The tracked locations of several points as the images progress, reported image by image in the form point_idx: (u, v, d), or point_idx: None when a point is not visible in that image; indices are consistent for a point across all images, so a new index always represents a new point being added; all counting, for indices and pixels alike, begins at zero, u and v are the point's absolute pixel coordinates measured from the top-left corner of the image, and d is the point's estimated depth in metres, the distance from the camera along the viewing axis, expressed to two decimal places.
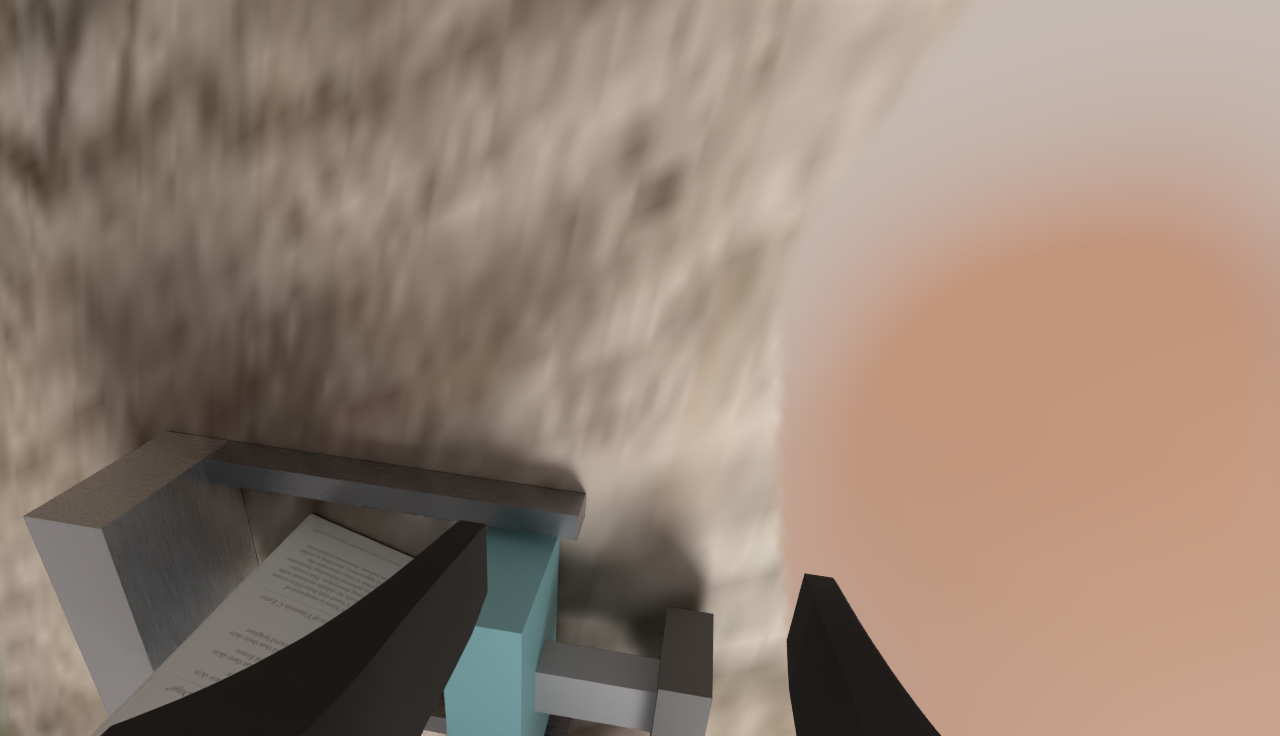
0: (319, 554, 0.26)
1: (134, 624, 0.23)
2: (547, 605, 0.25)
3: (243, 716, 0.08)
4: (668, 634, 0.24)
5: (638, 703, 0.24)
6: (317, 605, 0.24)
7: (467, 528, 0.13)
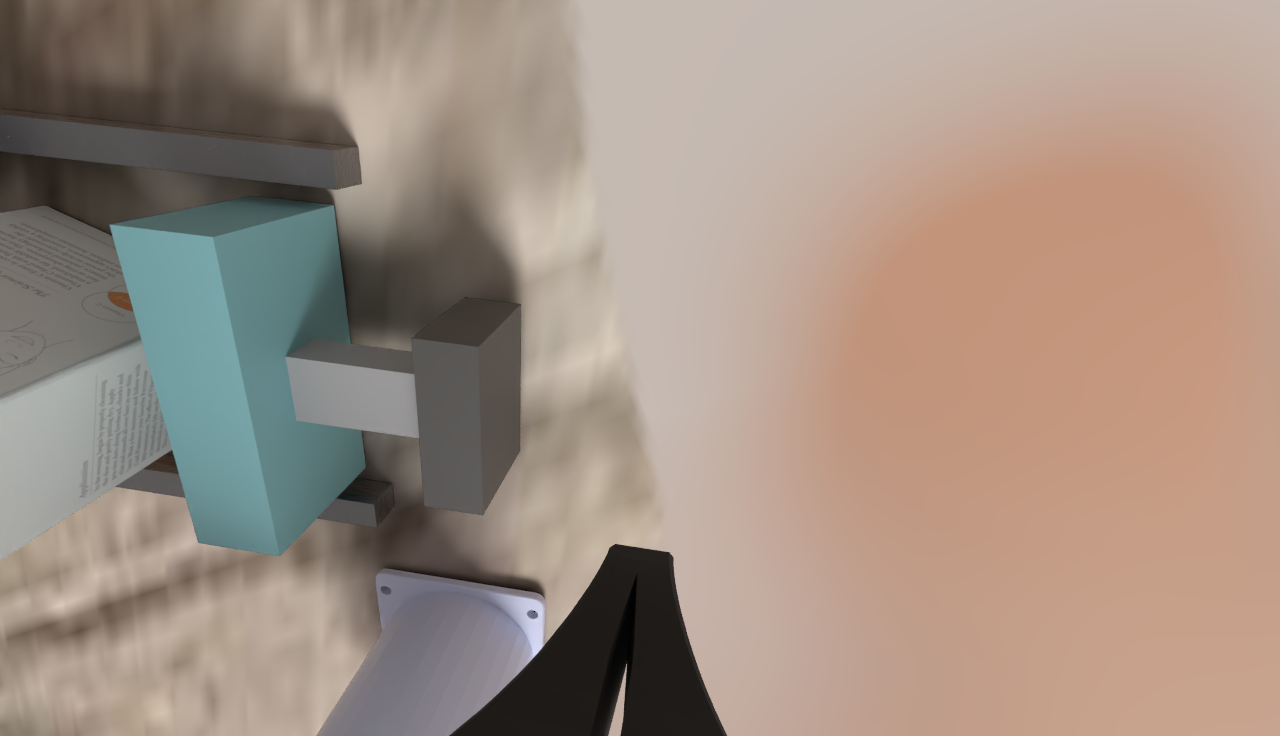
0: (34, 232, 0.21)
1: None
2: (310, 286, 0.20)
3: None
4: (452, 310, 0.20)
5: (414, 396, 0.19)
6: (5, 264, 0.19)
7: (627, 554, 0.13)
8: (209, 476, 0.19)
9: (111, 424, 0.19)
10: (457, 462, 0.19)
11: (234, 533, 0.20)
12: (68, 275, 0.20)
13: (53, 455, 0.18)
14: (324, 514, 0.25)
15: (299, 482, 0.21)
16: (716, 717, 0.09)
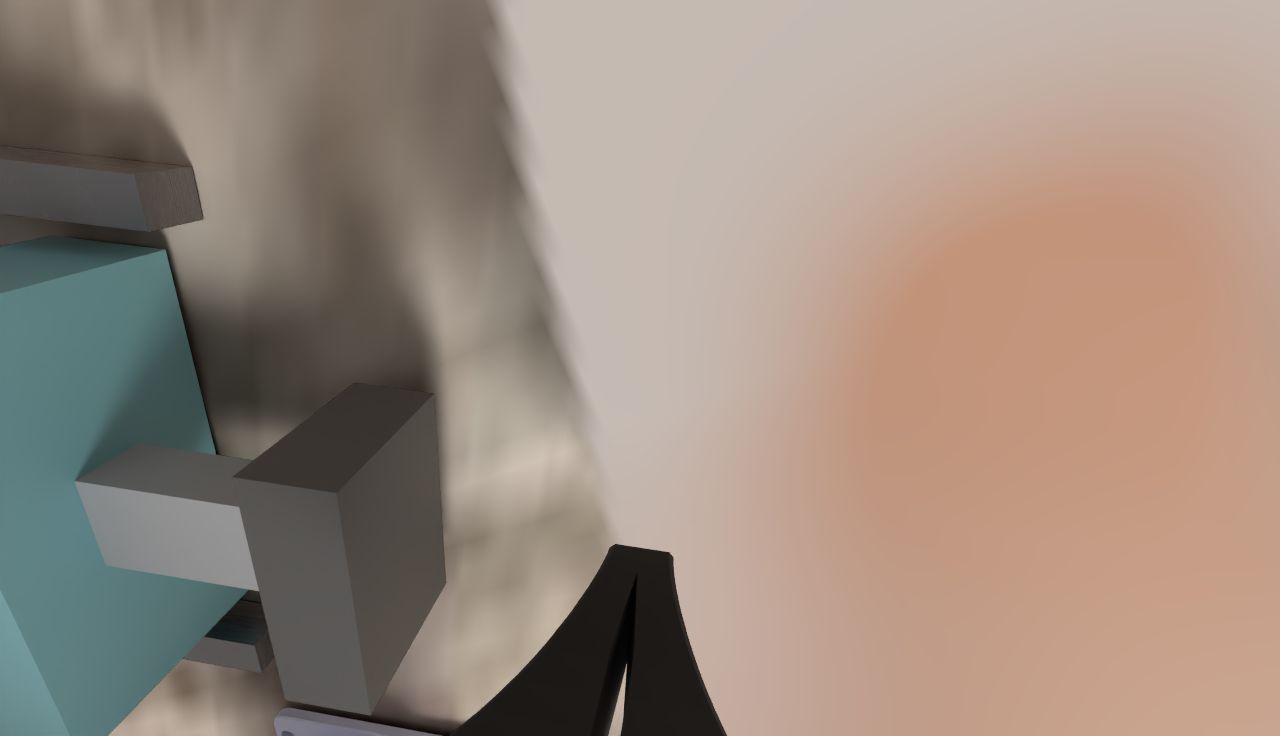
0: None
1: None
2: (122, 370, 0.14)
3: None
4: (324, 411, 0.13)
5: None
6: None
7: (627, 554, 0.13)
8: None
9: None
10: (325, 647, 0.12)
11: (14, 731, 0.14)
12: None
13: None
14: (191, 655, 0.19)
15: (118, 648, 0.15)
16: (716, 717, 0.09)
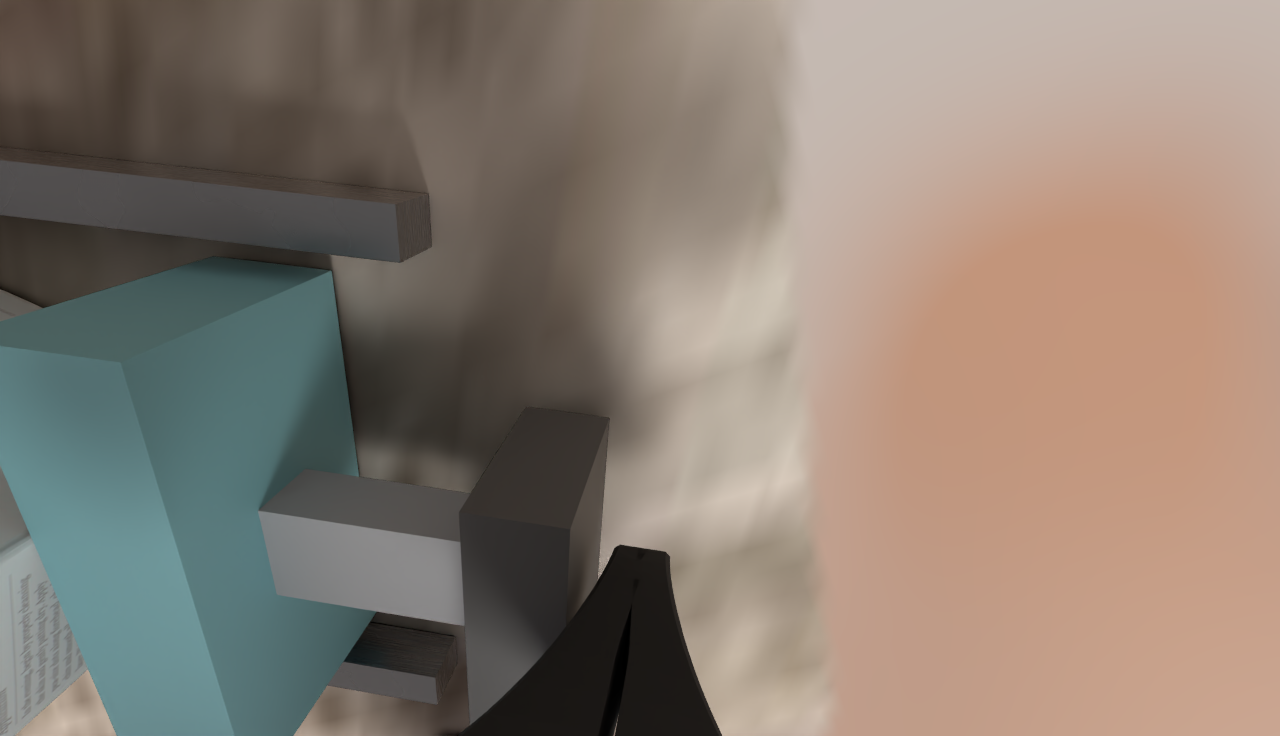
0: None
1: None
2: (296, 396, 0.13)
3: None
4: (513, 438, 0.13)
5: (455, 570, 0.13)
6: None
7: (631, 555, 0.13)
8: (143, 694, 0.13)
9: (43, 627, 0.12)
10: None
11: None
12: None
13: None
14: (365, 686, 0.18)
15: (282, 678, 0.14)
16: (711, 716, 0.09)
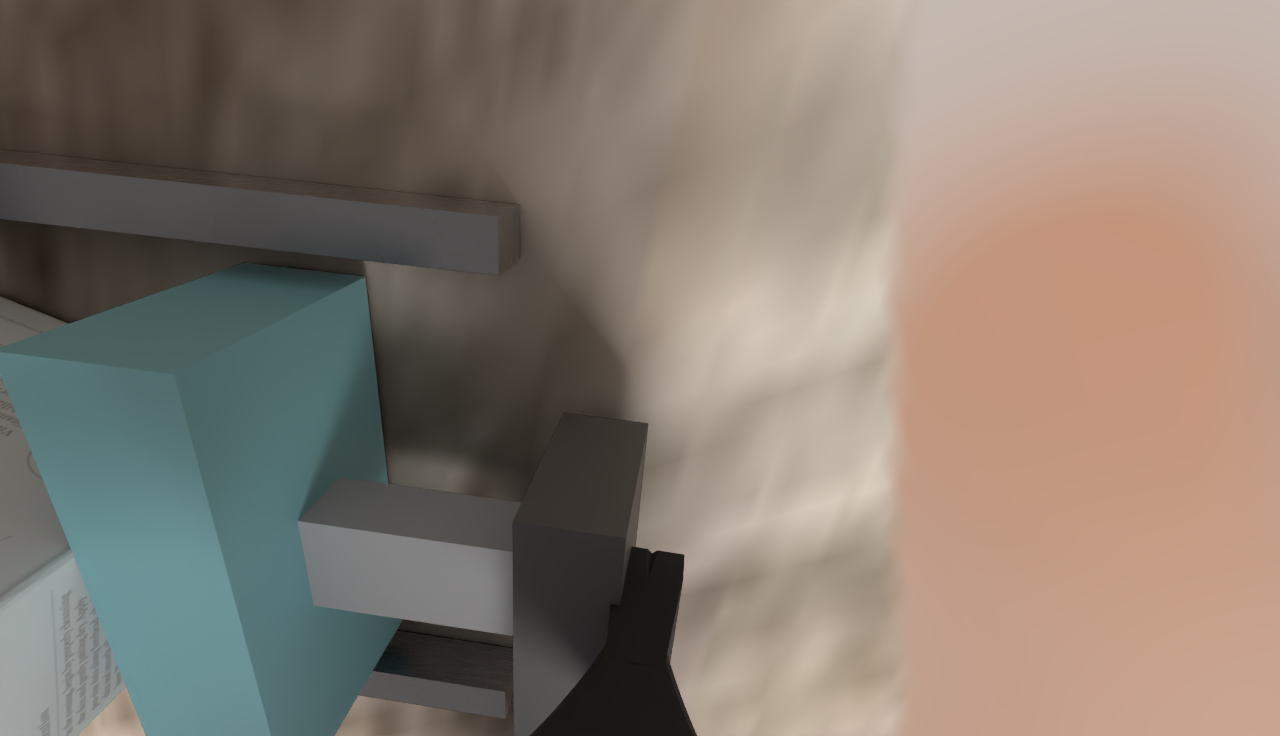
0: None
1: None
2: (332, 404, 0.13)
3: None
4: (556, 446, 0.13)
5: (499, 579, 0.13)
6: None
7: (670, 560, 0.13)
8: (181, 708, 0.12)
9: (84, 644, 0.12)
10: None
11: None
12: (9, 409, 0.13)
13: None
14: (431, 701, 0.18)
15: (318, 689, 0.14)
16: (684, 711, 0.09)
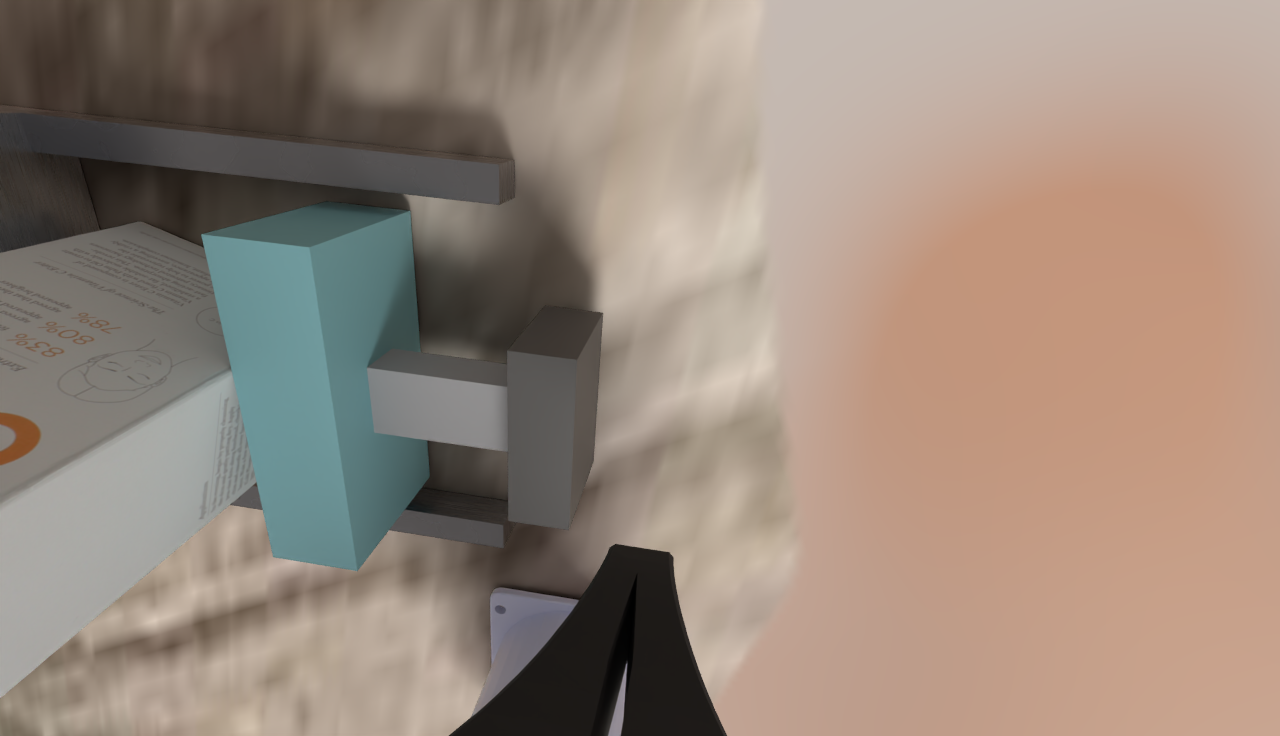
0: (136, 248, 0.20)
1: None
2: (388, 294, 0.20)
3: None
4: (538, 320, 0.19)
5: (499, 408, 0.19)
6: (117, 282, 0.18)
7: (627, 554, 0.13)
8: (289, 490, 0.19)
9: (229, 442, 0.19)
10: (546, 477, 0.18)
11: (311, 547, 0.20)
12: (178, 291, 0.19)
13: (181, 477, 0.17)
14: (449, 534, 0.24)
15: (375, 495, 0.21)
16: (716, 717, 0.09)
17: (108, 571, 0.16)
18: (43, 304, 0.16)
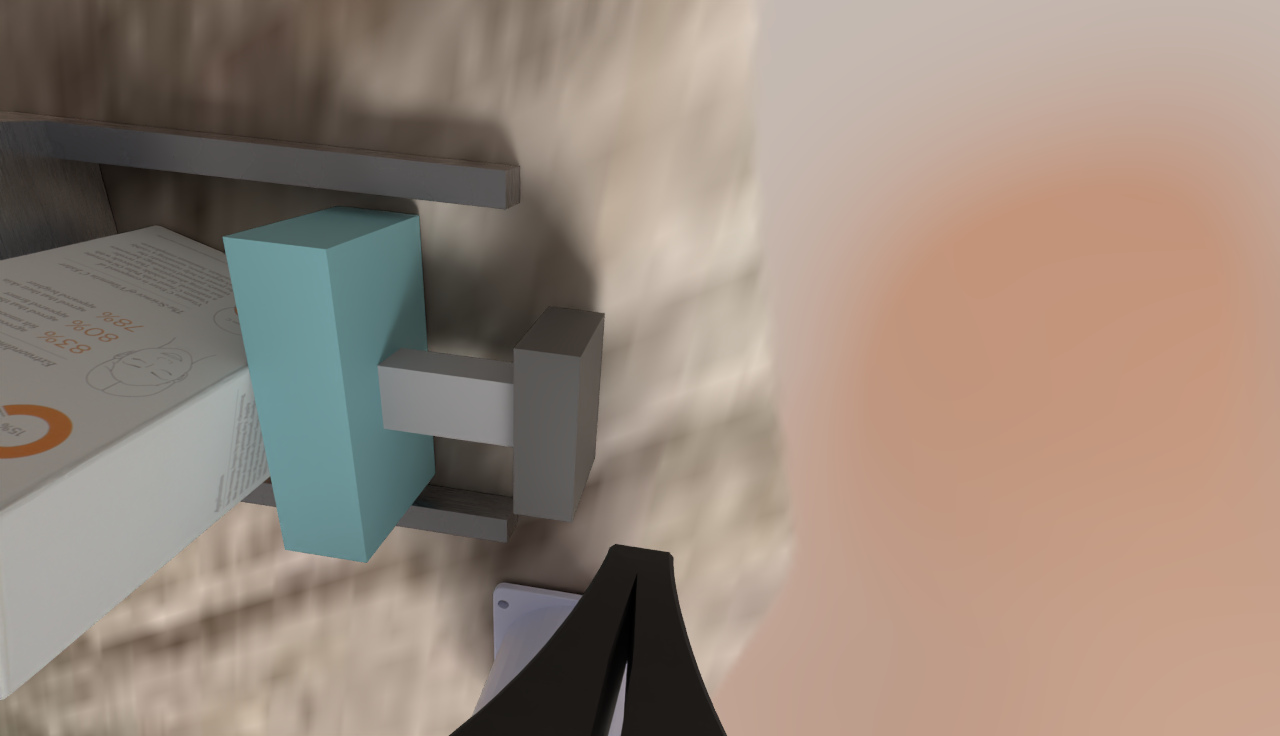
0: (154, 251, 0.21)
1: None
2: (398, 295, 0.20)
3: None
4: (542, 320, 0.20)
5: (505, 404, 0.20)
6: (138, 283, 0.19)
7: (627, 554, 0.13)
8: (302, 483, 0.20)
9: (244, 438, 0.19)
10: (550, 470, 0.19)
11: (322, 540, 0.21)
12: (195, 292, 0.20)
13: (199, 470, 0.18)
14: (454, 530, 0.25)
15: (384, 490, 0.21)
16: (716, 717, 0.09)
17: (131, 559, 0.16)
18: (69, 303, 0.17)
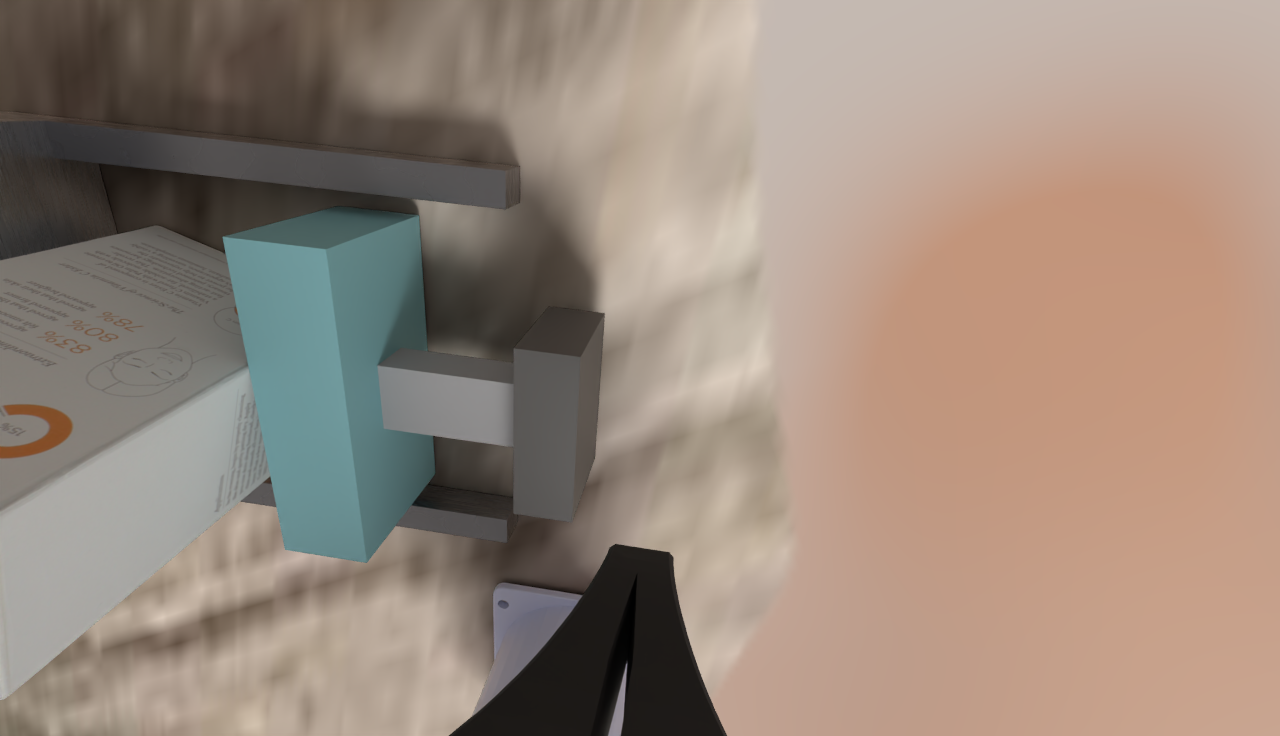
0: (154, 251, 0.21)
1: None
2: (398, 295, 0.20)
3: None
4: (542, 320, 0.20)
5: (505, 404, 0.20)
6: (138, 283, 0.19)
7: (627, 554, 0.13)
8: (302, 483, 0.20)
9: (244, 438, 0.19)
10: (550, 470, 0.19)
11: (322, 540, 0.21)
12: (195, 292, 0.20)
13: (199, 470, 0.18)
14: (454, 530, 0.25)
15: (384, 490, 0.21)
16: (716, 717, 0.09)
17: (131, 559, 0.16)
18: (69, 303, 0.17)
